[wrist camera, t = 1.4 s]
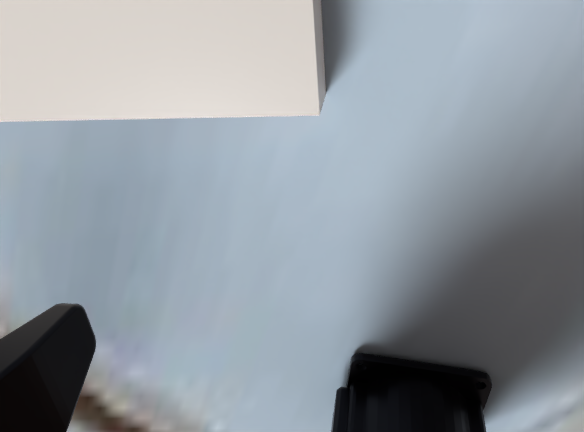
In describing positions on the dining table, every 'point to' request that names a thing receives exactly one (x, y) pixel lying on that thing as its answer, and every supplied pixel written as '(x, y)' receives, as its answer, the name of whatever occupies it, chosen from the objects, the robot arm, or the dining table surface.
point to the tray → (160, 59)
